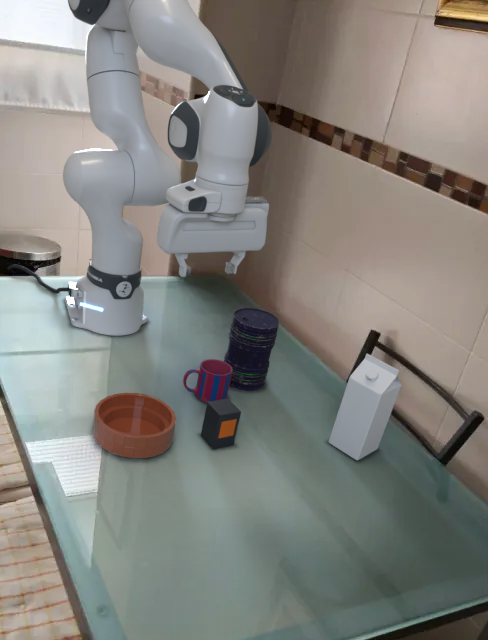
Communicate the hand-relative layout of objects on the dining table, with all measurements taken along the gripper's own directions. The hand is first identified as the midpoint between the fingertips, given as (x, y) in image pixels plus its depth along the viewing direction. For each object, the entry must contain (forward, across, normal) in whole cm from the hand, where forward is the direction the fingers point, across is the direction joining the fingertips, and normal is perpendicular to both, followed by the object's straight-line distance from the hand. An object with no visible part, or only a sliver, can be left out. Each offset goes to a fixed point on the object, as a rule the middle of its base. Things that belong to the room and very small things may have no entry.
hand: (207, 274), depth 117 cm
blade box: (+27, +1, +13) cm, 30 cm away
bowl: (+27, +16, +8) cm, 32 cm away
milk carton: (+28, -25, +22) cm, 44 cm away
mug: (+28, -4, -2) cm, 28 cm away
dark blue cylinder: (+28, -16, -6) cm, 33 cm away
